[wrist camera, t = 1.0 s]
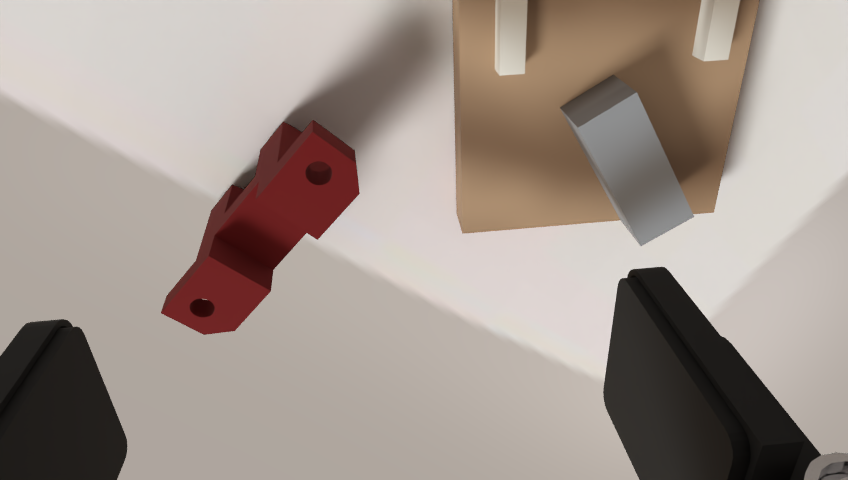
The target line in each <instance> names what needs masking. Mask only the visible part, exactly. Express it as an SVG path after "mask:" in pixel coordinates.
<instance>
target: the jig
mask: <svg viewBox="0 0 848 480" xmlns="http://www.w3.org/2000/svg"><path fill="white" fill-rule="evenodd" d="M759 1H760V0H452V2H453V52H454V101H455V151H456V200H457V216H458V219H459V223H460V226H461V230H462V233H474V232H486V231H498V230H510V229H522V228H534V227H546V226H558V225H569V224H581V223H593V222H605V221H617V220H621V221H622V223H623V224H624V225H625V226H626V228H627V229H628V230H629V232H630V233H631V234H632V235H633V237H634V238H635V239H636V241H637V242H638V243H639V244H640V246H642V245H644V244H646V243H647V242H649V241H651V240H653V239H655V238H656V237H658V236H660V235H662V234H664V233H666V232H667V231H669V230H671V229H673V228H675V227H676V226H678V225H680V224H682V223H684V222H686V221H687V220H689V219H691V218H693V217H694V215H693V214H700V213H712V212H714V209H715V204H716V200H717V195H718V190H719V186H720V181H721V176H722V172H723V167H724V163H725V158H726V153H727V149H728V144H729V139H730V135H731V130H732V126H733V121H734V116H735V112H736V107H737V102H738V98H739V93H740V89H741V84H742V79H743V75H744V70H745V65H746V61H747V56H748V52H749V47H750V42H751V38H752V33H753V28H754V24H755V19H756V14H757V10H758V5H759Z"/></svg>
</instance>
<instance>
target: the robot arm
mask: <svg viewBox="0 0 848 480" xmlns="http://www.w3.org/2000/svg"><path fill="white" fill-rule="evenodd" d="M603 393H604V402H605V406H606V409H607V411H608V414H609V416H610V418H611V420H612V422H613V424H614V426H615V429H616V430H617V433H618V435H619V437H620V439H621V441H622V443H623V445H624V448H625V450H626V452H627V454H628V456H629V458H630V460H631V462H632V465H633V467H634V469H635V471H636V473H637V475H638V477H639V479H640V480H848V453H831V454H825V455H821V454H820V453H819V452H818V451H817V449H816V448H815V447H814V446H813V444H812V443H811V442H810V441H809V439H808V438H807V437H806V436H805V435H804V433H803V432H802V431H801V430H800V428H799V427H798V426H797V425H796V423H795V422H794V421H793V420H792V418H791V417H790V416H789V415H788V413H787V412H786V411H785V410H784V408H783V407H782V406H781V405H780V404H779V402H778V401H777V400H776V399H775V397H774V396H773V395H772V394H771V392H770V391H769V390H768V389H767V387H765V385H764V384H763V383H762V381H761V380H760V379H759V378H758V376H757V375H756V374H755V373H754V371H753V370H752V369H751V368H750V366H749V365H748V364H747V363H746V362H745V360H744V359H743V358H742V357H741V355H740V354H739V353H738V352H737V350H736V349H735V348H734V347H733V345H732V344H731V343H730V342H729V341H728V340H727V339H726V338H724V337H722V336H720V335H719V333H718V332H717V331H716V330H715V328H714V327H713V326H712V325H711V323H710V322H709V321H708V320H707V318H706V317H705V316H704V315H703V313H702V312H701V311H700V310H699V308H698V307H697V306H696V305H695V303H694V302H693V301H692V300H691V298H690V297H689V296H688V295H687V293H686V292H685V291H684V290H683V288H682V287H681V286H680V284H679V283H678V282H677V281H676V279H675V278H674V277H673V276H672V274H671V273H670V272H669V271H668V270H667V269H666V268H665V267H655V268H643V269H633V270H631V271H630V272H629V274H628V277H627V278H622V279H620V281H619V283H618V288H617V296H616V303H615V310H614V317H613V325H612V332H611V339H610V346H609V354H608V361H607V368H606V375H605V383H604V392H603ZM126 453H127V439H126V436H125V433H124V431H123V428H122V426H121V423H120V421H119V419H118V416H117V414H116V411H115V409H114V406H113V404H112V401H111V399H110V396H109V394H108V391H107V389H106V386H105V384H104V382H103V379H102V377H101V374H100V372H99V370H98V367H97V364H96V362H95V360H94V357H93V355H92V352H91V350H90V347H89V345H88V342H87V340H86V337H85V335H84V333H83V331H82V330H81V329H80V328H79V327H73V326H72V324H71V323H70V322H69V321H67V320H64V319H62V320H51V321H39V322H30V323H27V324H25V325H24V326H23V327H22V329H21V330H20V331H19V332H18V334H17V335H16V336H15V338H14V339H13V340H12V342H11V343H10V344H9V346H8V347H7V348H6V350H5V351H4V352H3V354H2V355H1V356H0V480H117V478H118V475H119V473H120V471H121V468H122V466H123V463H124V461H125V458H126Z"/></svg>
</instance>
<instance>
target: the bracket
mask: <svg viewBox="0 0 848 480" xmlns="http://www.w3.org/2000/svg"><path fill="white" fill-rule="evenodd" d="M358 195H359V185H358V176H357V167H356V158H355V150H353V149H352V148H351V147H349V146H348V145H347V144H345V143H344V142H342V141H341V140H340V139H338V138H337V137H336V136H334V135H333V134H332V133H330V132H329V131H328V130H326V129H325V128H324V127H322V126H321V125H320V124H318V123H317V122H315V121H314V120H312V121H311V123H310V124H309V125H308V126H307V127H306V129H305V130H304V131H303V132H301V131H299V130H297V129H296V128H294V127H292V126H291V125H289V124H287V123H285V122H283V123H282V124H281V125H280V126H279V128H278V129H277V130H276V131H275V132H274V134H273V135H272V136H271V137H270V139H269V140H268V141H267V142H266V144H265V145H264V146H263V147H262V149H261V150H260V155H259V160H258V165H257V169H256V174H255V177H254V178H253V180H252V181H251V182H250V183H249V184H248V186H247V187H246V188H245V189H242V188H239V187H237V186H234V185H232V186H231V187H230V188H229V189H228V190H227V192H226V193H225V194H224V195H223V197H222V198H221V199H220V200H219V202H218V203H217V204H216V205H215V207H214V208H213V209H212V210H211V214H210V217H209V220H208V223H207V227H206V230H205V233H204V236H203V240H202V243H201V246H200V249H199V253H198V256H197V259H196V261H195V262H194V264H193V265H192V266H191V267H190V269H189V270H188V271H187V272H186V273H185V275H184V276H183V277H182V278H181V279H180V280H179V282H178V283H177V284H176V285H175V287H174V288H173V289H172V290H171V291H170V293H169V294H168V295H167V297H166V300H165V303H164V305H163V309H162V311H161V313H162V314H164V315H166V316H168V317H170V318H172V319H174V320H176V321H178V322H180V323H182V324H184V325H186V326H188V327H190V328H192V329H194V330H196V331H198V332H200V333H202V334H204V335H205V334H212V333H221V332H229V331H235V330H236V329H237V328H238V327H239V325H240V324H241V323H242V322H243V321H244V320H245V319H246V318H247V317H248V316H249V314H250V313H251V312H252V311H253V310H254V309H255V308H256V307H257V306H258V305H259V303H260V302H261V301H262V300H263V299H264V298H265V297H266V296H267V295H268V294H269V292H270V291H271V284H272V276H273V270H274V268H275V267H276V266H277V265H278V264H279V263H280V262H281V261H282V260H283V258H284V257H285V256H286V255H287V254H288V253H289V252H290V251H291V249H292V248H293V247H294V246H295V245H296V244H297V243H298V242H299V241H300V239H301V238H302V237H303V236H304V235H305V234H306V233H308V234H310V235H311V236H313V237H314V238H316V239H317V240H318V239H319V238H320V236H321V235H322V234H323V233H324V232H325V231H326V230H327V229H328V228H329V227H330V225H331V224H332V223H333V222H334V221H335V220H336V219H337V218H338V217H339V216H340V214H341V213H342V212H343V211H344V210H345V209H346V208H347V207H348V206H349V205H350V203H351V202H352V201H353V200H354V199H355V198H356V197H357V196H358ZM203 299H207V300H203Z"/></svg>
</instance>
